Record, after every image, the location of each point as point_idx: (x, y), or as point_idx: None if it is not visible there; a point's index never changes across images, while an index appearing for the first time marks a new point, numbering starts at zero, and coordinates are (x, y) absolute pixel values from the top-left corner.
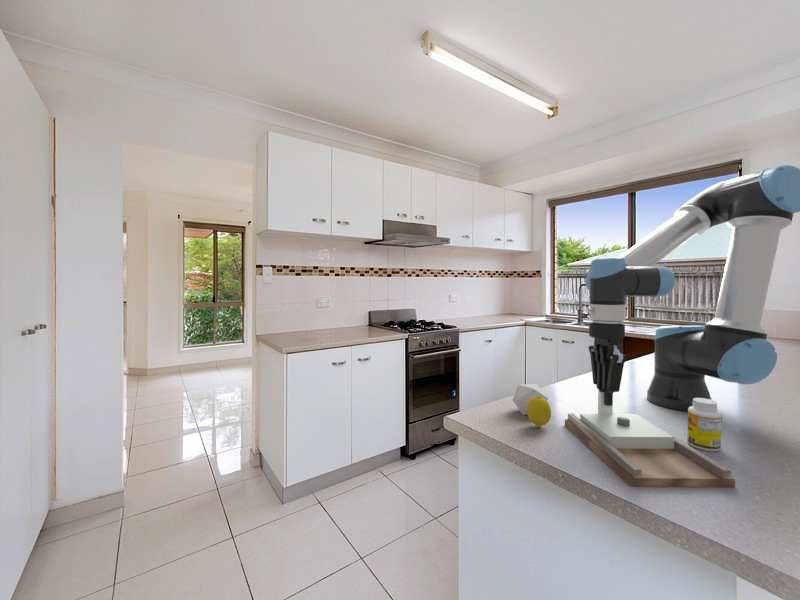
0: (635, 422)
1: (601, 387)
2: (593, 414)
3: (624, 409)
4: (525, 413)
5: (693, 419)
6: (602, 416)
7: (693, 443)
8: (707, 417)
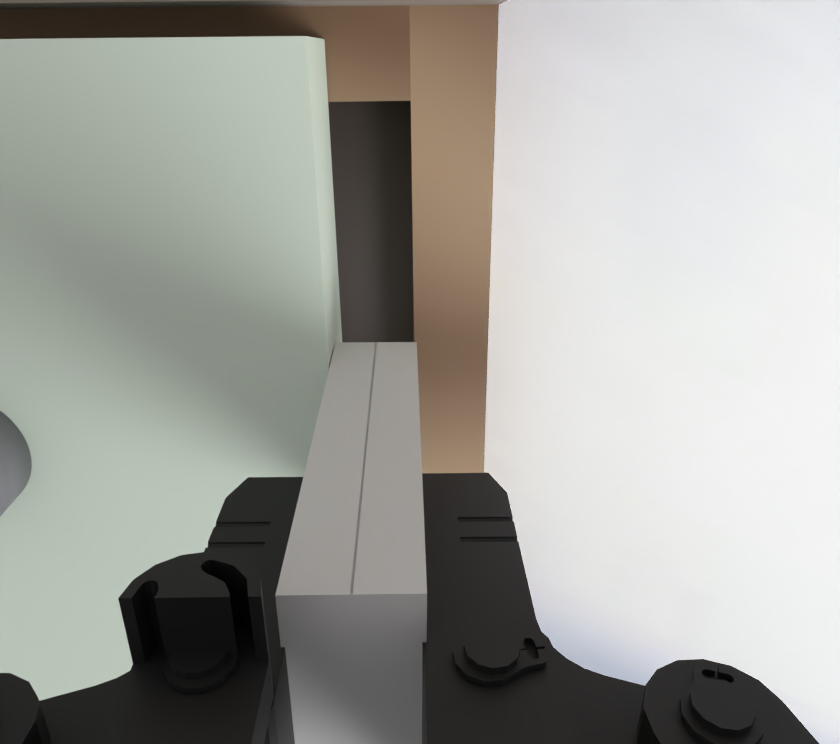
0: (66, 600)
1: (423, 700)
2: (282, 241)
3: (836, 722)
4: None
5: None
6: (214, 332)
7: None
8: None
